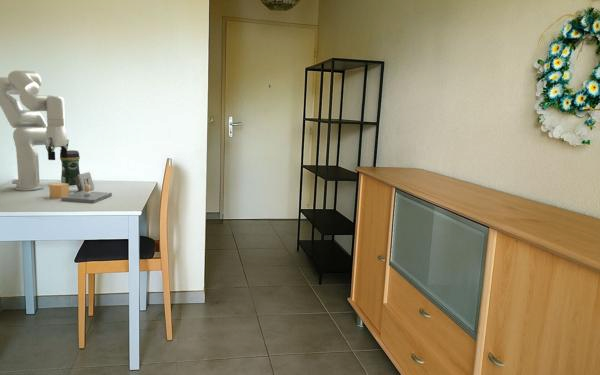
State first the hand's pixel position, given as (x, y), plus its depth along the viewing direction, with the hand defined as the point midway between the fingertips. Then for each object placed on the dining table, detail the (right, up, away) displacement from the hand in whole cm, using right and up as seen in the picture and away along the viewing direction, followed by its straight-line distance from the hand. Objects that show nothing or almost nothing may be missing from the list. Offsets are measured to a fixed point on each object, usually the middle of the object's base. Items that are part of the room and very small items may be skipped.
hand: (58, 158), depth 224 cm
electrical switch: (+4, -16, +20) cm, 25 cm away
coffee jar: (-11, -12, +35) cm, 38 cm away
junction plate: (+13, -19, +3) cm, 23 cm away
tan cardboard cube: (-1, -18, +3) cm, 18 cm away
